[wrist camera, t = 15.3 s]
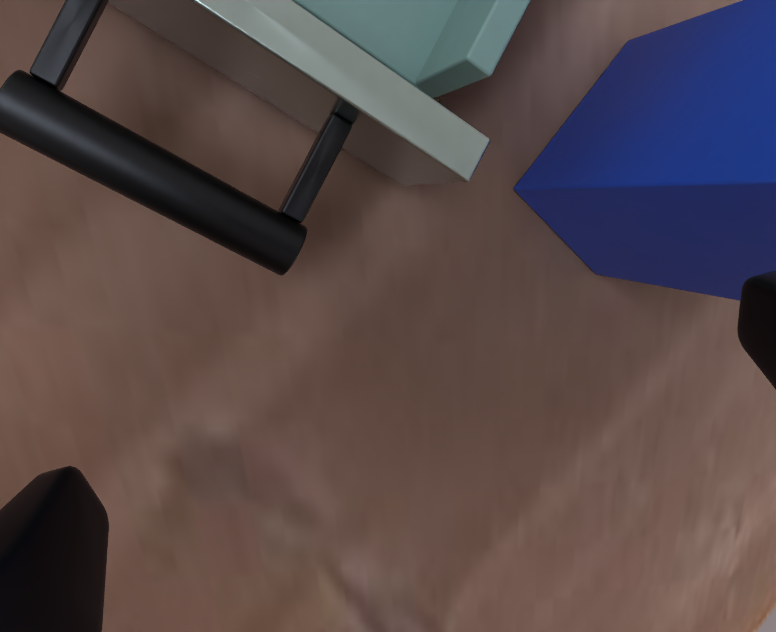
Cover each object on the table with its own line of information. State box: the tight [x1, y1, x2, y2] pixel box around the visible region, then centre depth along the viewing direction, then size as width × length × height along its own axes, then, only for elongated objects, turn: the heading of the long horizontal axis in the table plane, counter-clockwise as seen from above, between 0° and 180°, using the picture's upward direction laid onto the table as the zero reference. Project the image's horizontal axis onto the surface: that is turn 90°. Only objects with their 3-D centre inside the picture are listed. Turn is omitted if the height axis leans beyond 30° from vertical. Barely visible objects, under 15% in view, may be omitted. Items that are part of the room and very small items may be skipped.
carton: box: [514, 0, 776, 300], centre depth 17 cm, size 7×5×12 cm
